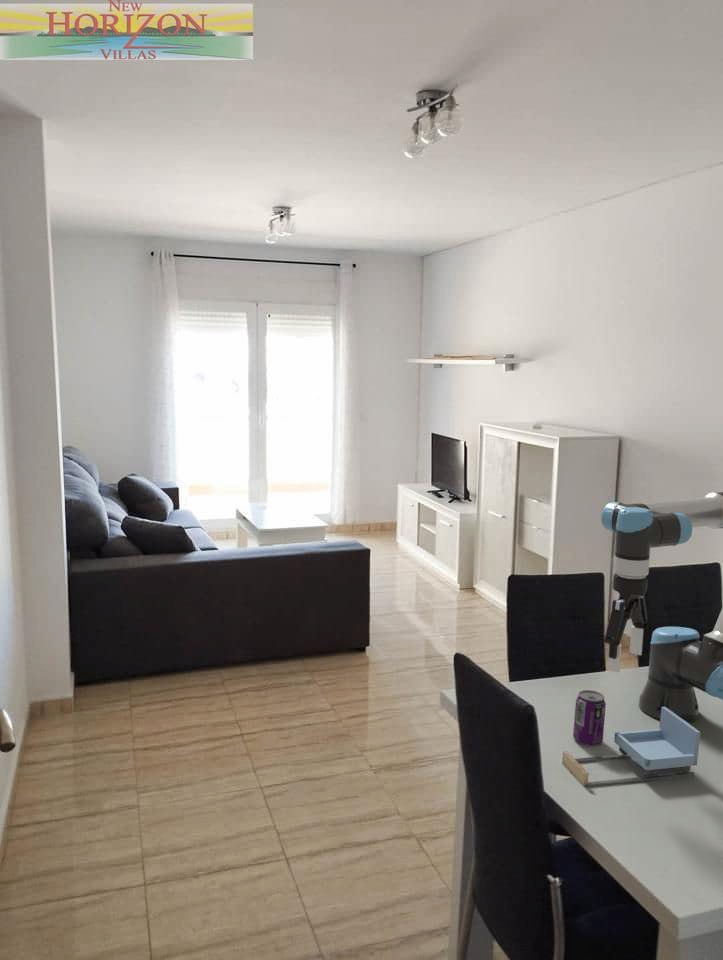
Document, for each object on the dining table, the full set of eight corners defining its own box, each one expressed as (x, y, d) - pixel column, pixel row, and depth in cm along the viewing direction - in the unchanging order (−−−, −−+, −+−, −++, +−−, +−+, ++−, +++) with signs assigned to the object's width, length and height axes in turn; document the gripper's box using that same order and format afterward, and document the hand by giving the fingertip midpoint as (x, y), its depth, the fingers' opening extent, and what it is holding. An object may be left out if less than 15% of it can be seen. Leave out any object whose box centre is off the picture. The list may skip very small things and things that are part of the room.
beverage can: (604, 749, 184) (608, 702, 182) (573, 745, 185) (577, 699, 184) (600, 736, 191) (604, 690, 189) (571, 732, 192) (575, 687, 191)
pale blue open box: (661, 747, 184) (665, 706, 183) (695, 775, 172) (700, 731, 170) (613, 751, 181) (616, 710, 180) (645, 780, 169) (649, 736, 167)
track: (665, 752, 184) (666, 740, 183) (694, 775, 173) (695, 763, 173) (561, 762, 177) (562, 750, 177) (584, 787, 167) (585, 774, 166)
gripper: (634, 561, 187) (629, 643, 190) (592, 582, 168) (587, 673, 171) (665, 566, 182) (659, 650, 185) (626, 589, 163) (619, 682, 166)
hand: (624, 662), depth 178 cm, fingers open, 13 cm apart
